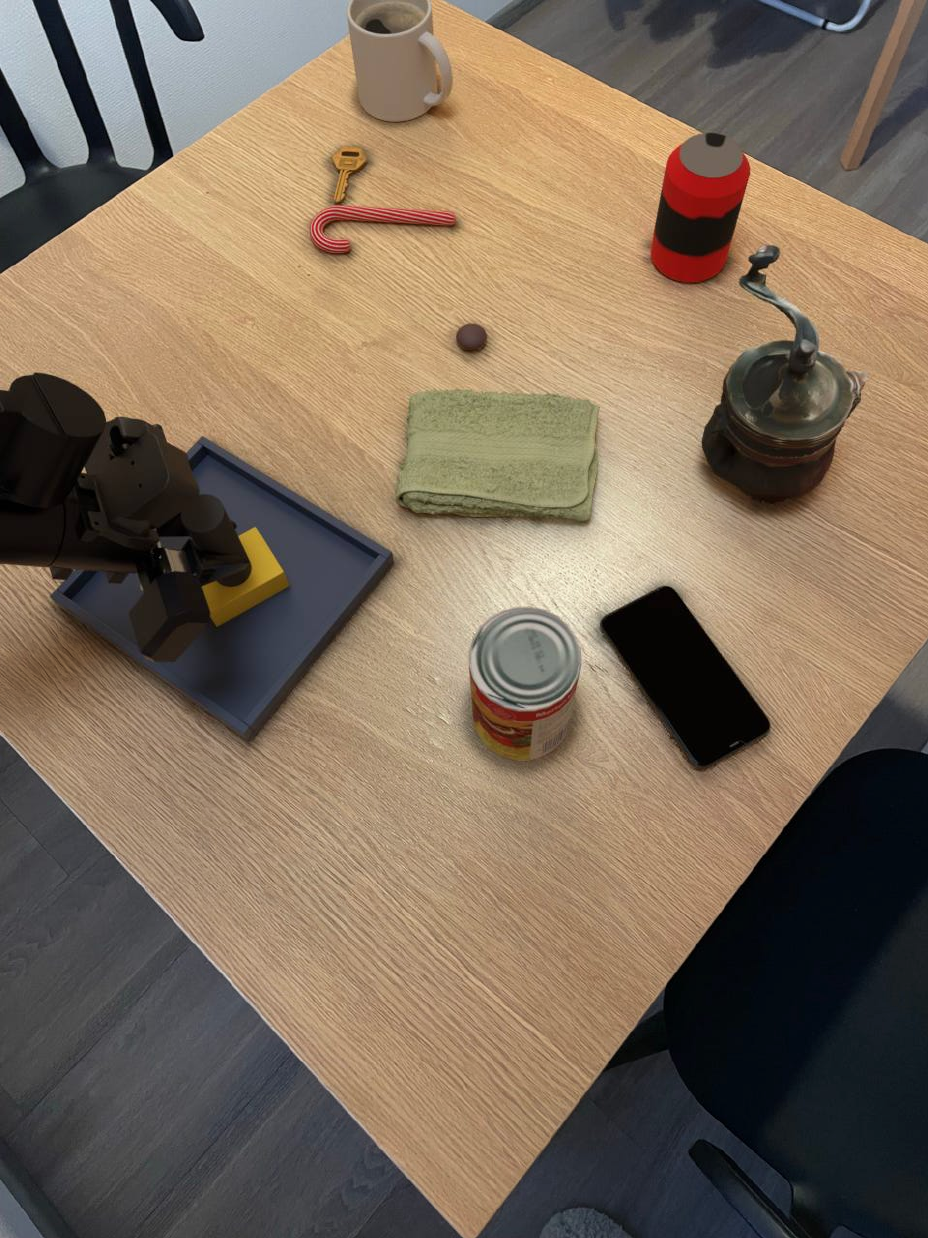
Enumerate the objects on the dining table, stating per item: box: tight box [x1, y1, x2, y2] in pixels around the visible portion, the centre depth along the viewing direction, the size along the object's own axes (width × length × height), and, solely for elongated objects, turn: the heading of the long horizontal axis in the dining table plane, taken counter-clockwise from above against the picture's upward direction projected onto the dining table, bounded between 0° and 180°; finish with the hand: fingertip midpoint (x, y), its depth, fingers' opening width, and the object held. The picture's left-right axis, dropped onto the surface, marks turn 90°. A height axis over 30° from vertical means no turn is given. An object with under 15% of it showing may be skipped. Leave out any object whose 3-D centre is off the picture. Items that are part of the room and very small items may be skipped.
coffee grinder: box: [701, 244, 868, 506], centre depth 80 cm, size 13×15×18 cm
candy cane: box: [308, 204, 457, 254], centre depth 100 cm, size 6×15×2 cm, turn 84°
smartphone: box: [599, 585, 772, 771], centre depth 79 cm, size 7×1×15 cm
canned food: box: [468, 606, 582, 762], centre depth 73 cm, size 8×8×12 cm
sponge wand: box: [181, 494, 289, 627], centre depth 77 cm, size 7×5×13 cm
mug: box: [346, 0, 454, 123], centre depth 105 cm, size 11×10×10 cm
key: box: [331, 146, 368, 204], centre depth 104 cm, size 4×8×1 cm, turn 173°
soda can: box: [650, 132, 751, 283], centre depth 93 cm, size 8×8×12 cm
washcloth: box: [395, 388, 601, 522], centre depth 87 cm, size 13×18×3 cm
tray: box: [49, 435, 395, 743], centre depth 83 cm, size 20×22×2 cm
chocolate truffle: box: [455, 322, 488, 351], centre depth 94 cm, size 3×3×2 cm
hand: (240, 546), depth 78 cm, fingers closed on sponge wand, 3 cm apart
